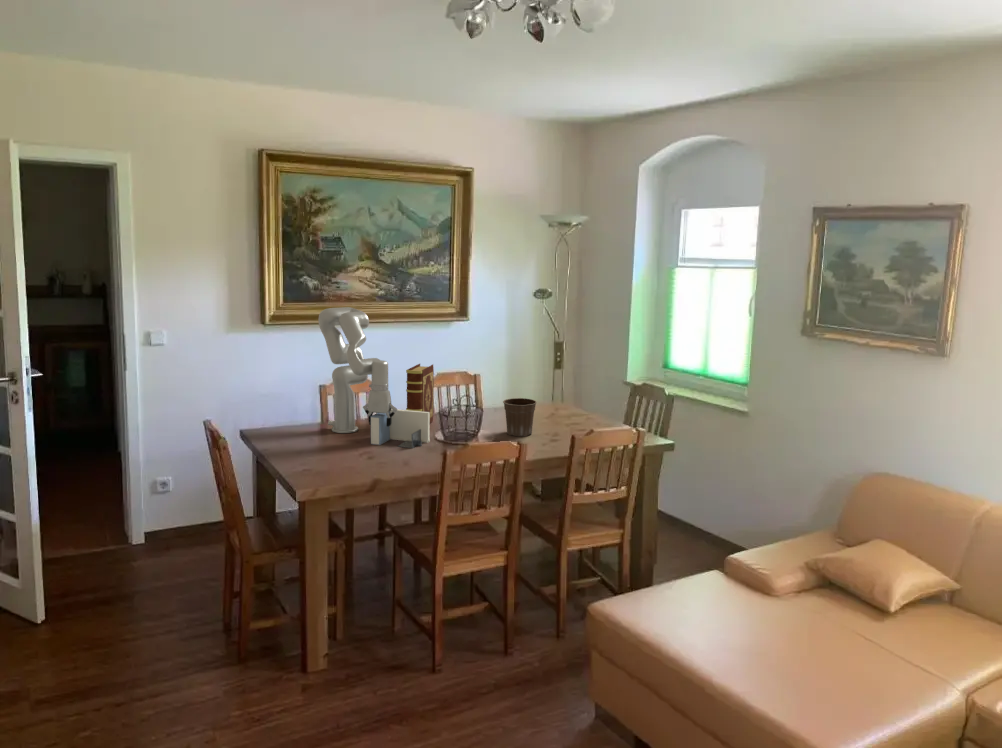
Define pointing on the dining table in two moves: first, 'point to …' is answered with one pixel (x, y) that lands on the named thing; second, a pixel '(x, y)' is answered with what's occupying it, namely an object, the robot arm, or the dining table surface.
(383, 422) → the boxed book
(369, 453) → the dining table surface
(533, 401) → the plant pot
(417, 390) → the decorative book
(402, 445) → the bookend
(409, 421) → the shelf wall
